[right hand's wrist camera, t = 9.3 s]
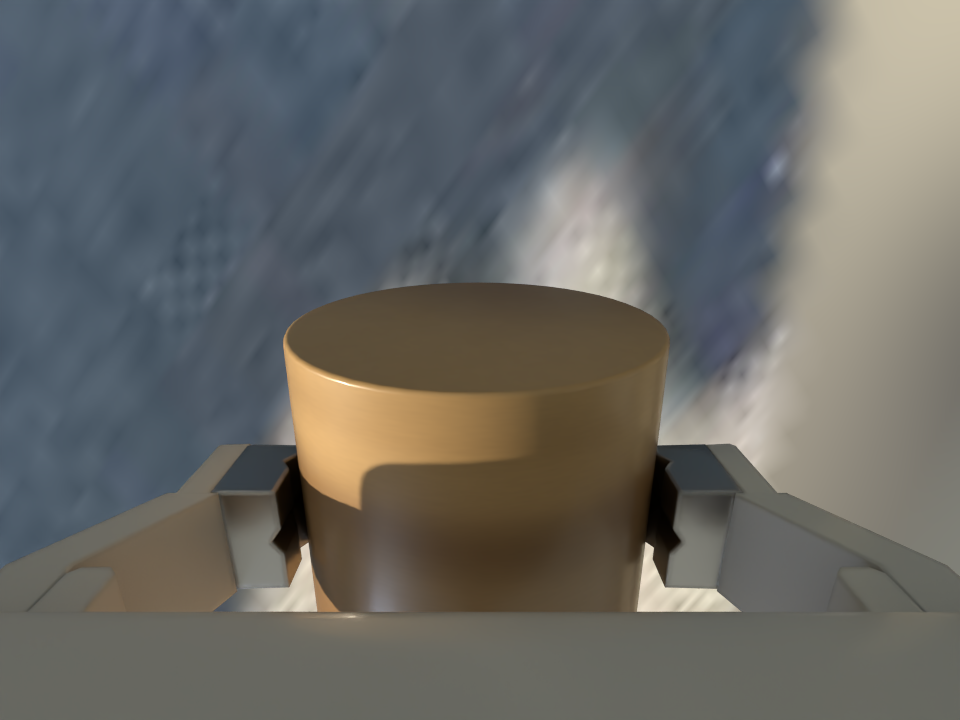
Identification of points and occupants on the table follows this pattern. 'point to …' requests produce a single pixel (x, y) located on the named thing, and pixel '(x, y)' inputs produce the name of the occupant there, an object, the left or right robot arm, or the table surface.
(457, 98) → the table surface
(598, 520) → the rod
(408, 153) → the table surface
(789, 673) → the right robot arm
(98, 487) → the table surface
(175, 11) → the table surface
